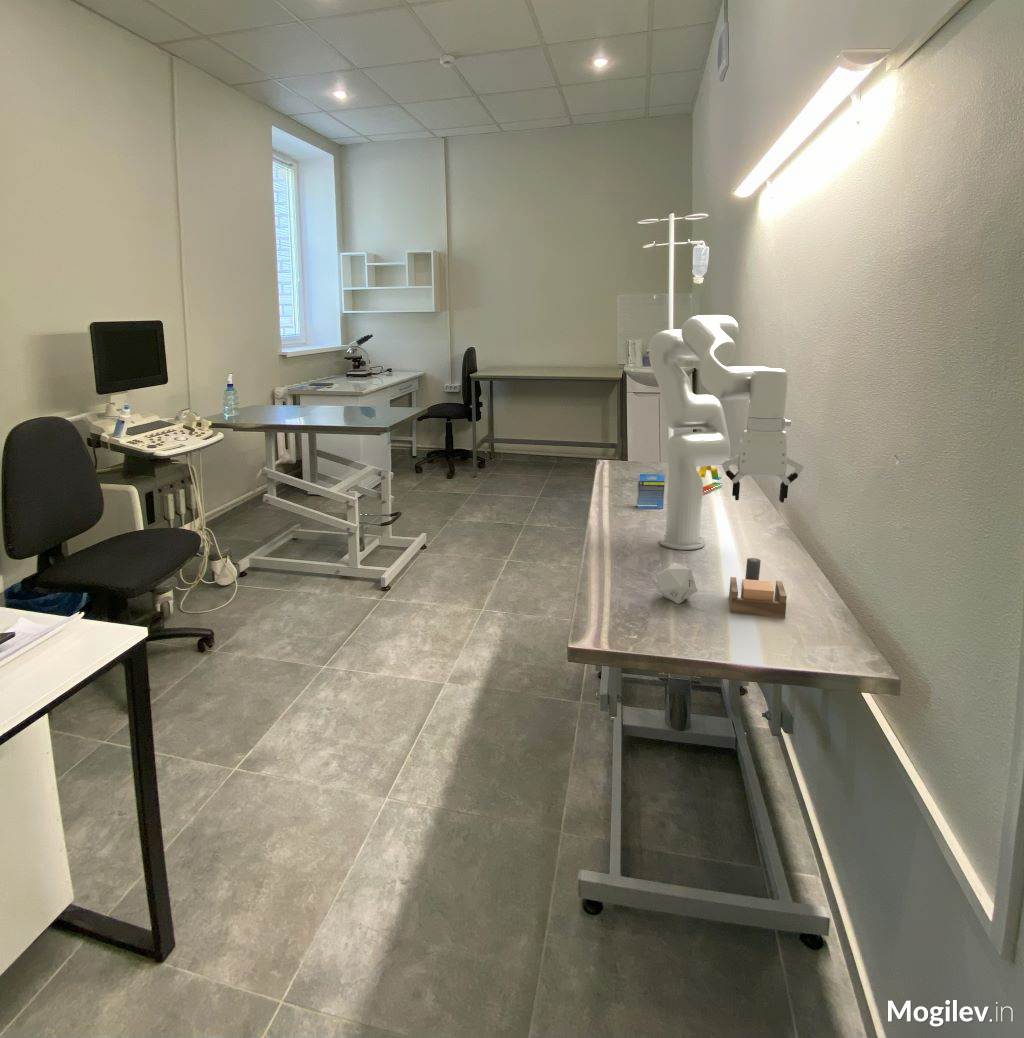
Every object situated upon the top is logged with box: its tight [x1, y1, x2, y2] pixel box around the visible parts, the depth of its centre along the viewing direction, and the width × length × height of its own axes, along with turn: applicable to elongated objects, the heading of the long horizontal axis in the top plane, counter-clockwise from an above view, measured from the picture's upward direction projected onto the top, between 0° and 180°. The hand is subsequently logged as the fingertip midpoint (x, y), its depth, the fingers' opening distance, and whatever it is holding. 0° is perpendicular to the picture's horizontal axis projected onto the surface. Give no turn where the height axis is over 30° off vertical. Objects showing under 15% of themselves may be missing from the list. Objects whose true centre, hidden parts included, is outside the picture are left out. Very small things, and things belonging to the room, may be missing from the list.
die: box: [656, 562, 698, 605], centre depth 146 cm, size 8×9×10 cm
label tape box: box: [636, 473, 666, 509], centre depth 225 cm, size 9×4×12 cm, turn 84°
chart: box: [697, 466, 723, 496], centre depth 243 cm, size 30×3×15 cm, turn 139°
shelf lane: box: [728, 576, 788, 618], centre depth 142 cm, size 10×11×4 cm
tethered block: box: [740, 557, 775, 601], centre depth 147 cm, size 18×6×6 cm, turn 164°
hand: (758, 500), depth 150 cm, fingers open, 9 cm apart
